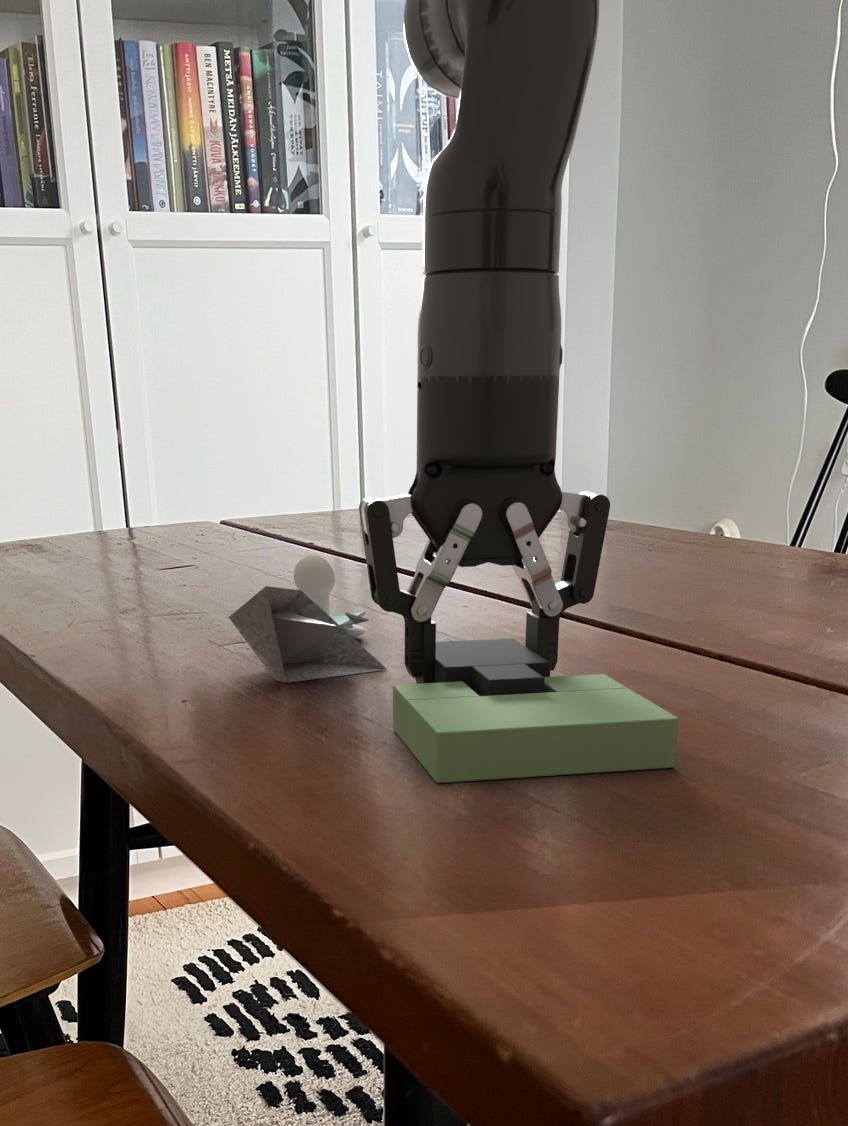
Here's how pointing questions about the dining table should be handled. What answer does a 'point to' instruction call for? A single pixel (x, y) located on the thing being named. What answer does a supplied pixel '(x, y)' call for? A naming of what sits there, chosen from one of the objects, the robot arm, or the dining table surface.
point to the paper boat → (300, 637)
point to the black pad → (491, 666)
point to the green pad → (533, 729)
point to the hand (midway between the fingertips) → (480, 680)
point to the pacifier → (322, 588)
